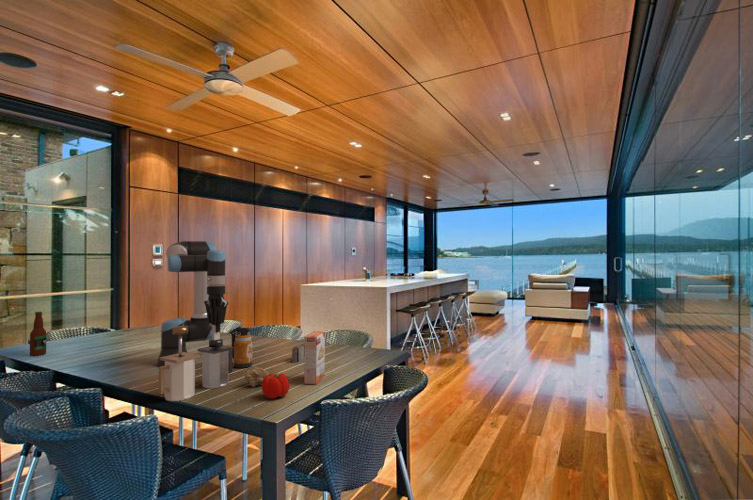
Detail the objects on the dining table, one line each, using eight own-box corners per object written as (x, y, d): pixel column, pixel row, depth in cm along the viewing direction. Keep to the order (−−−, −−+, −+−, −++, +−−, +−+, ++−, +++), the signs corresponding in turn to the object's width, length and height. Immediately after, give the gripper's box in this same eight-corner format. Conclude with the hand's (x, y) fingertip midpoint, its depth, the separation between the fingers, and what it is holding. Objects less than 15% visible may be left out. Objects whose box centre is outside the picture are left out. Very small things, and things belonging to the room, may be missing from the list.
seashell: (258, 378, 182) (258, 361, 182) (275, 379, 180) (275, 362, 181) (242, 388, 169) (242, 369, 169) (260, 389, 167) (260, 370, 167)
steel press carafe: (197, 386, 172) (197, 349, 172) (223, 378, 183) (223, 343, 184) (213, 390, 166) (213, 351, 167) (239, 381, 178) (239, 345, 179)
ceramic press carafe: (151, 401, 154) (151, 359, 154) (183, 390, 166) (183, 352, 166) (168, 405, 149) (168, 362, 149) (199, 394, 161) (200, 354, 161)
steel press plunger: (203, 377, 172) (203, 340, 173) (216, 373, 179) (217, 337, 179) (214, 380, 169) (214, 342, 169) (228, 375, 175) (228, 339, 175)
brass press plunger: (166, 368, 158) (166, 327, 158) (182, 364, 164) (182, 325, 164) (177, 370, 154) (177, 329, 154) (194, 366, 160) (194, 326, 161)
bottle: (38, 356, 227) (39, 312, 228) (26, 356, 227) (26, 312, 228) (49, 353, 234) (50, 311, 235) (37, 353, 234) (37, 311, 235)
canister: (246, 369, 198) (246, 328, 199) (226, 368, 201) (226, 328, 201) (255, 364, 207) (255, 325, 208) (236, 363, 209) (236, 325, 210)
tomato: (256, 399, 155) (256, 377, 155) (273, 391, 165) (273, 369, 165) (279, 403, 151) (279, 380, 151) (295, 394, 161) (295, 372, 161)
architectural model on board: (297, 363, 210) (297, 345, 210) (292, 363, 211) (292, 344, 211) (306, 358, 221) (306, 340, 221) (301, 358, 222) (301, 340, 222)
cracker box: (317, 385, 172) (317, 336, 173) (303, 384, 173) (303, 336, 174) (325, 375, 186) (325, 330, 187) (313, 375, 187) (312, 330, 188)
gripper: (198, 285, 175) (198, 339, 174) (219, 286, 168) (218, 342, 168) (213, 284, 181) (213, 336, 180) (233, 285, 175) (233, 339, 174)
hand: (215, 339), depth 174 cm, fingers closed
